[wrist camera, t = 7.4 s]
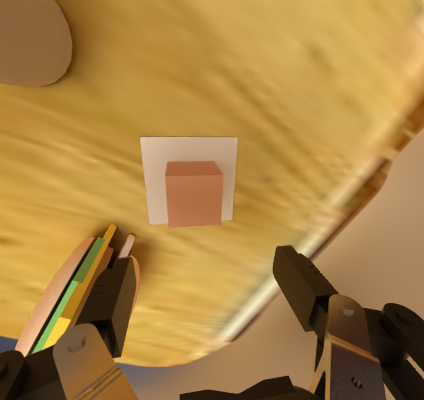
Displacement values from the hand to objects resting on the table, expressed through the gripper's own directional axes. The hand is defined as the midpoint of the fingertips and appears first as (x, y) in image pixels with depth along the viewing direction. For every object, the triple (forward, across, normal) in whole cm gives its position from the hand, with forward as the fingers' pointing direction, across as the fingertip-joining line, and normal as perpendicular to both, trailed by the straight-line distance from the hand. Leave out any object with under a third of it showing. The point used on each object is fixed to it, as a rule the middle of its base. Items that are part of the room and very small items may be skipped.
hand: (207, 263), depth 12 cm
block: (+13, 0, 0) cm, 13 cm away
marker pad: (+14, 0, 0) cm, 14 cm away
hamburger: (+14, +11, +11) cm, 21 cm away
